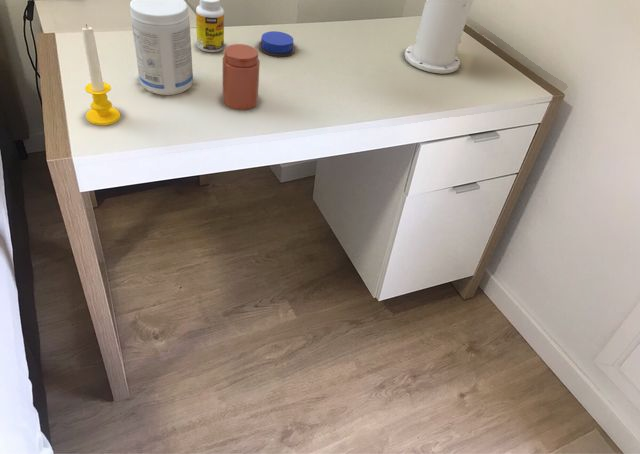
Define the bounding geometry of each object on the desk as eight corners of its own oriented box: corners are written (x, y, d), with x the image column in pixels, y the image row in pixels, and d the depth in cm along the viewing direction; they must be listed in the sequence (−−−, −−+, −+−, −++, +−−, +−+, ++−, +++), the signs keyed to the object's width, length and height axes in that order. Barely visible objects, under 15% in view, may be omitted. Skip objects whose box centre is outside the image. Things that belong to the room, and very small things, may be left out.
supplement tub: (185, 69, 100) (181, -9, 90) (199, 93, 94) (196, 13, 84) (134, 74, 96) (123, -7, 86) (145, 99, 91) (135, 16, 81)
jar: (239, 88, 98) (240, 39, 91) (264, 102, 95) (267, 52, 89) (215, 99, 94) (214, 49, 87) (240, 114, 91) (242, 63, 85)
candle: (83, 111, 85) (62, 18, 75) (115, 106, 88) (100, 15, 77) (91, 128, 82) (71, 33, 72) (124, 122, 85) (110, 29, 74)
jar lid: (275, 36, 115) (276, 28, 114) (299, 48, 112) (300, 39, 111) (254, 44, 111) (254, 36, 109) (278, 56, 108) (279, 48, 107)
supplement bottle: (203, 55, 105) (202, 4, 98) (192, 43, 109) (190, -7, 102) (228, 51, 108) (229, 2, 101) (217, 40, 111) (216, -9, 104)
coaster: (275, 37, 116) (275, 35, 116) (302, 50, 113) (302, 48, 113) (250, 47, 111) (250, 44, 111) (278, 60, 108) (279, 58, 108)
